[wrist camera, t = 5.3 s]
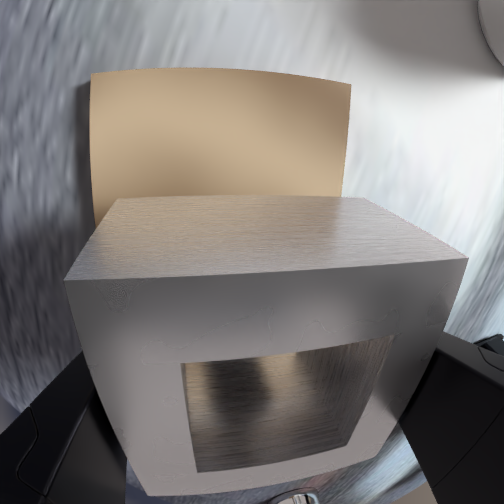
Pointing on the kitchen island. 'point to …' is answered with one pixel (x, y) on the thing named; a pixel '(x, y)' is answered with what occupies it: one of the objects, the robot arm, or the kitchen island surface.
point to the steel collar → (256, 332)
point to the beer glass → (298, 497)
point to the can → (493, 25)
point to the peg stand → (215, 134)
